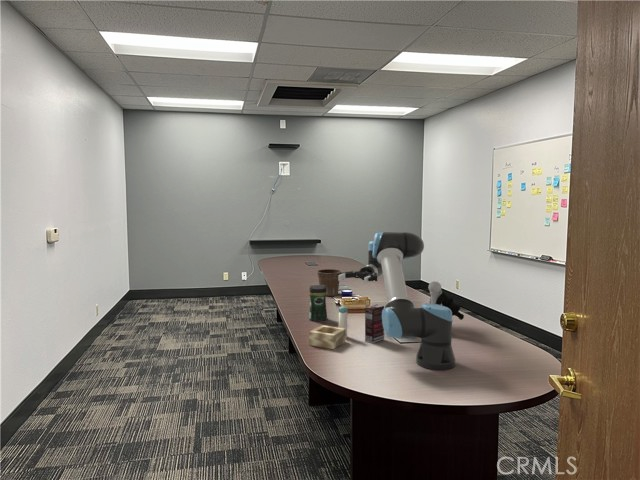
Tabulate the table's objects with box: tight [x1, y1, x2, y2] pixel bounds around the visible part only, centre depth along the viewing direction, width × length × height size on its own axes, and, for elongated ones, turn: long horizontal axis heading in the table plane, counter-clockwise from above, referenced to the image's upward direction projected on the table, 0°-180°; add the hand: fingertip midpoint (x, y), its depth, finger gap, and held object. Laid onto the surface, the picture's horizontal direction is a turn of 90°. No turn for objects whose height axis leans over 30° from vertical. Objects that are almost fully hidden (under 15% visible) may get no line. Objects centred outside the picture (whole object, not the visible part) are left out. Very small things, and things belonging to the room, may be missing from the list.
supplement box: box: [364, 304, 385, 344], centre depth 213 cm, size 9×5×16 cm, turn 134°
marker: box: [338, 306, 348, 339], centre depth 218 cm, size 4×4×14 cm
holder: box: [308, 324, 346, 350], centre depth 209 cm, size 12×12×6 cm
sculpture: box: [428, 281, 465, 321], centre depth 228 cm, size 15×24×25 cm, turn 110°
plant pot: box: [316, 268, 342, 297], centre depth 311 cm, size 16×16×16 cm
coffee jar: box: [308, 284, 328, 322], centre depth 249 cm, size 10×8×19 cm
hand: (351, 279), depth 225 cm, fingers open, 13 cm apart
